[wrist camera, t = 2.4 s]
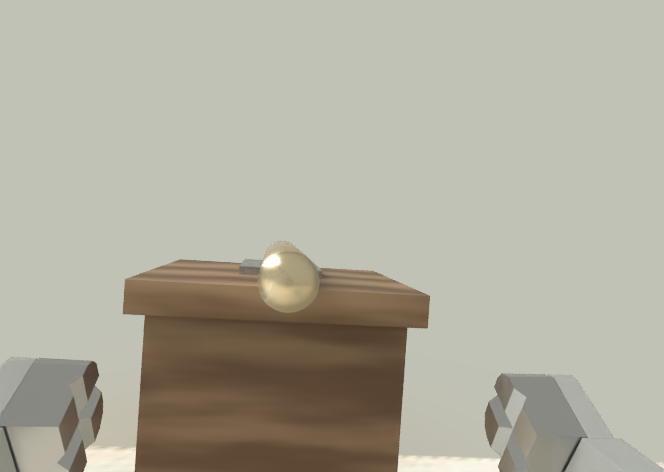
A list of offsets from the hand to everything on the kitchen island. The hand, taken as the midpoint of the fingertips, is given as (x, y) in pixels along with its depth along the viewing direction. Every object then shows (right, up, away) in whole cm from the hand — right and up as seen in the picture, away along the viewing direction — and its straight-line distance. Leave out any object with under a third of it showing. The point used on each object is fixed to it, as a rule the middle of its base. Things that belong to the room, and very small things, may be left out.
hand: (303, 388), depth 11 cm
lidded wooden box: (-5, -26, +29) cm, 39 cm away
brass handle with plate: (-3, 0, +23) cm, 23 cm away
